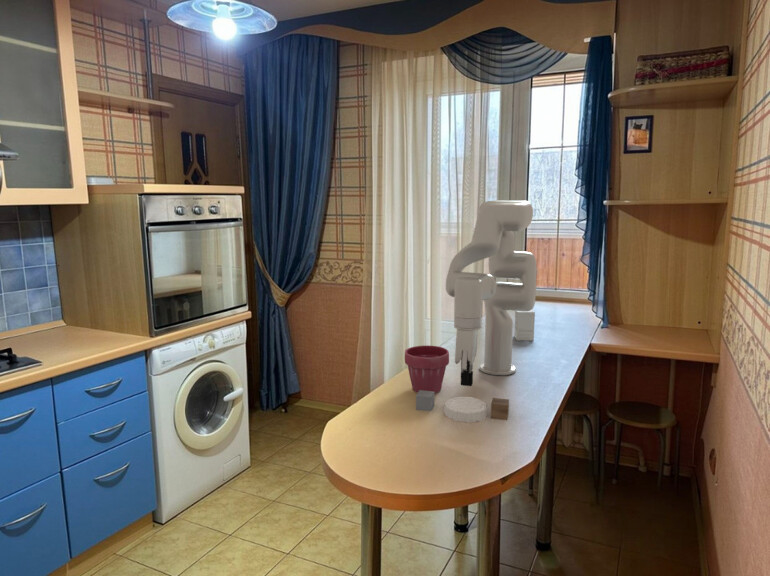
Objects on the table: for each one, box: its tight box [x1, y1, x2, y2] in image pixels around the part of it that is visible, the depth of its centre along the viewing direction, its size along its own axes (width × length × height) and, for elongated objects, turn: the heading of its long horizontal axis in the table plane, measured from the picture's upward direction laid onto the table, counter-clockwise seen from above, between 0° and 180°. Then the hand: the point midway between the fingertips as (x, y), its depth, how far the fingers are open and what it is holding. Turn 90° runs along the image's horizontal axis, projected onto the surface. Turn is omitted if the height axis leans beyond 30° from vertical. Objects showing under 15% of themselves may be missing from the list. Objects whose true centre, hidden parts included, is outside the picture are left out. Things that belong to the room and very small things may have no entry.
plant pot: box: [404, 345, 450, 394], centre depth 174 cm, size 14×14×13 cm
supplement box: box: [513, 309, 536, 342], centre depth 235 cm, size 7×7×13 cm
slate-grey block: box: [415, 390, 436, 412], centre depth 160 cm, size 4×4×4 cm
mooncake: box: [443, 396, 488, 423], centre depth 155 cm, size 12×12×4 cm
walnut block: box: [490, 397, 510, 421], centre depth 153 cm, size 4×4×4 cm
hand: (466, 384), depth 154 cm, fingers closed
